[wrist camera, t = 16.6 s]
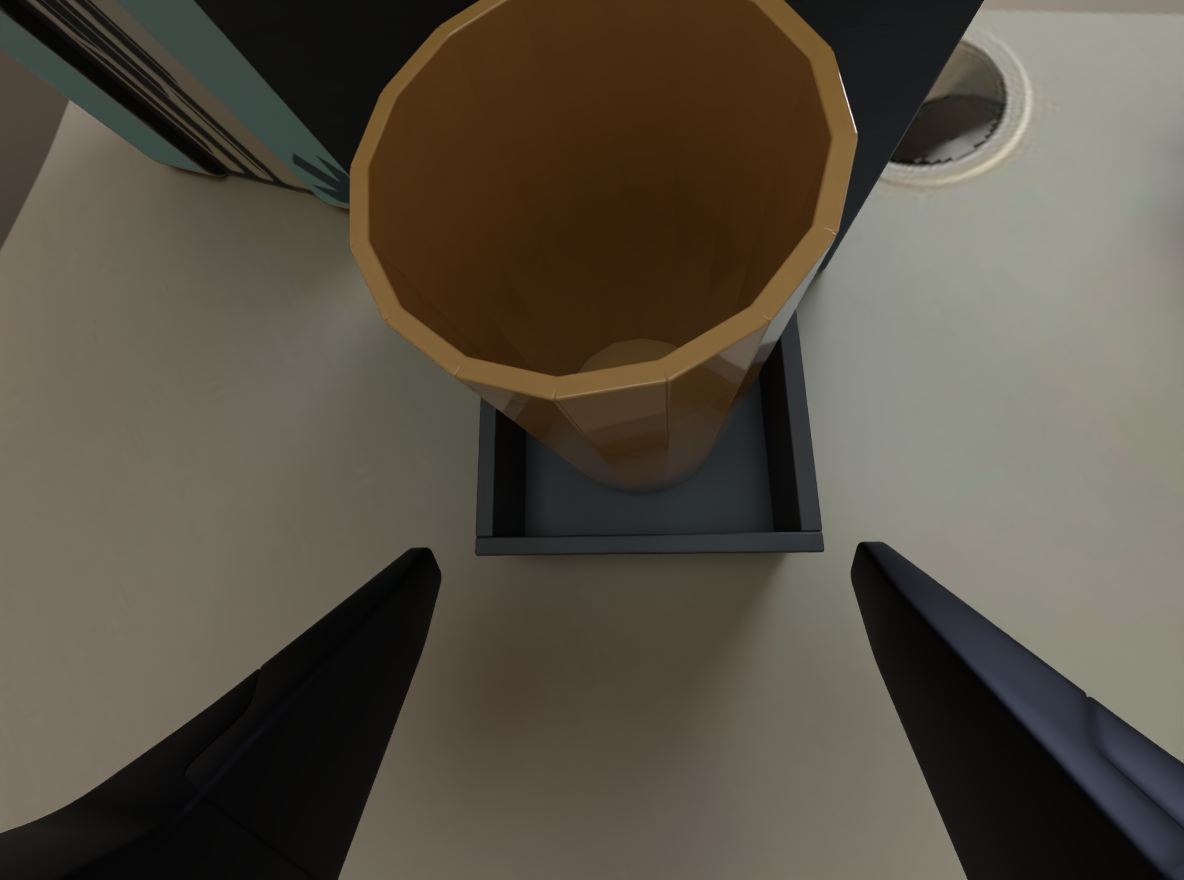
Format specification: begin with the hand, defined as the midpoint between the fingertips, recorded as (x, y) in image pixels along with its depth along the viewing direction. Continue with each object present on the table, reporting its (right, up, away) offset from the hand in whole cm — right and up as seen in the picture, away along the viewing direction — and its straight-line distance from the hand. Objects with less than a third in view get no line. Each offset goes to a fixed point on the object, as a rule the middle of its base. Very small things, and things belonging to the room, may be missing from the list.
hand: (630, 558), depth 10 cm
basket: (+1, +3, +9) cm, 10 cm away
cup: (+1, +4, +9) cm, 10 cm away
